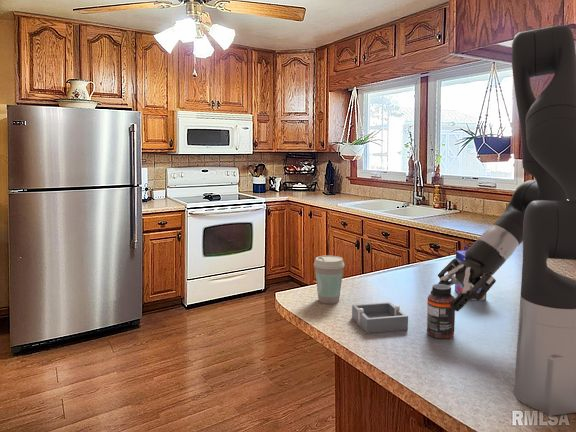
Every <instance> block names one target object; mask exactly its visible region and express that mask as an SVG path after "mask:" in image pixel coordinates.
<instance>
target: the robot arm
mask: <svg viewBox="0 0 576 432" xmlns="http://www.w3.org/2000/svg"><path fill="white" fill-rule="evenodd" d="M575 45H576V44H575V37H574V34H573V31H572V29H571V28H570V26H568V25H564V24H558V25H551V26H544V27H542V28H536V29H535V28H534V29H530V30H526V31H521V32H517V34H515V36H514V37H513V40H512V43H511V53H510V54H511V69H512V78H513V87H514V95H515V101H516V107H517V113H518V119H519V125H520V133H521V134H520V136H521V160H522V161H521V162H522V163H521V165H522V168H523V170H524V171H525V172H526V173H527V174H529V175H531V176H532V177H533V178H534V179H530V180H525V181H524V182H522V183H521V184H520V185H519V186H518V187H516V189H515V191H514V192H513V194H512V196H511V198H510V200H509V202H508V204H507V205H506V207H505V210H504V212H503V213H502V214H501V215H500V216H499V217H498V219H496V220H495V222H494V223H493V224H492V225H491V226H490V227H488V228H487V229H486V230H485V231H483V232H482V233H481V235H480V236H479V237H478V238H477V239H476V241H474V243H472V245H470V247H469V249H467V250H465V251H466V252H465V256H466V259H465V260H464V261H463V262H461V263H460V262H459V261H458V260H457V259H456V257H455V258H453V259H451V261H449V263H447V265H446V266H445V267H443V269H442V270H441V271H440V272H439V273H437V277H438V278H439V282H438V283H437V284H445V285H448V286H450V287H452V286H453V285H455V284H456V285H457V284H460V283H461V284H464V289H463V293H460V294H459V293H458V295H457V296H456V297H454V298H455V299H454V300H453V302H452V303H451V304H450V306H451V307H452V308H453V309H454V310H455V312H460V310H462V309H463V308H464V306H466V304H468V302H469V301H474V300H473V299H476V300H475V301H478V302H479V301H482V300H481V298H482V297H483V296H484V295H485V294H486V293H487V292H488V291H489V290H490V289H491V288H492V287H493V285H494V284H495V283H496V282H497V280H496V279H495V278H494V274H495V273H496V272H497V271H498V270H499V269H500V268H501V267H502V266H503V265H504V264H505V263H506V261H508V259H510V257H511V256H512V255H513V254H514V252H515V251H516V250H517V248H518V247H519V246H520V244H521V243H522V268H521V269H522V270H521V282H520V283H521V284H520V286H521V287H520V297H519V298H520V300H519V313H518V323H517V324H518V327H517V338H516V339H517V340H516V351H515V353H516V355H515V365H514V366H515V369H514V382H513V383H514V385H513V394H514V396H515V398H516V399H517V400H519V401H520V402H521V403H522V404H524V405H526V406H528V407H530V408H531V409H535V410H538V411H540V412H543V413H544V414H546V415H547V416H549V417H550V416H551V417H552V416H560V415H567V414H573V413H576V279H573V278H570V277H567V276H565V275H563V274H560V273H558V272H556V271H554V270H553V269H551V268H550V267H549V266H548V262H547V261H548V259H551V260H552V259H555V260H567V261H569V260H570V261H576V46H575ZM546 75H553V77H552V78H551V81H550V82H549V83H548V85H547V86H546V87H545V88H544V89H543V90H542V92H541V93H540V94H539V95H538V97H535V95H534V92H533V88H532V86H531V78H534V77H540V76H546ZM446 273H447V274H446ZM479 288H480V289H481V291H480V292H479V293H477V291H478V290H479ZM431 293H432V290H431V291H430V294H431ZM486 295H487V294H486Z"/></svg>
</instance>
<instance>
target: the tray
mask: <svg viewBox="0 0 576 432" xmlns="http://www.w3.org/2000/svg"><path fill="white" fill-rule="evenodd" d="M400 307H401V306H400V305H397V304H396V305H395V304H393V303H392V302H391V301H385V302H372V303H371V302H370V303H360V304H359V303H358V304H352V305H351V319H352V320H354V321H355V322H356V324H357V326H358V327H360V328H361V329H362V330H363V331H364V332H365V333H366V334H373V333H374V334H375V333H387V332H396V331H397V332H398V331H408V330H409V316H408V315H407V314H406V313H405V312H404V311H402V310H401V308H400Z"/></svg>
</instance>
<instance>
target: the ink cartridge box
mask: <svg viewBox="0 0 576 432" xmlns="http://www.w3.org/2000/svg"><path fill="white" fill-rule="evenodd" d="M463 247H464V249H465V250H456V251H455V258H456V259H457V260H458V261H459V262H460V263H461V262H463V261H464V260H465V259H466V256H465V252H466V251H467V250H468V249H469V248H470V247H469V246H467V245H465V244H463ZM463 289H464V284H461V283H460V284H457V285H456V284H454V291H455V292H457V293H458V295H459V294H460V293H463ZM480 291H481V289H480V288H479V290H478V291H477V293H479V292H480ZM472 301H477V300H476V299H473V300H472ZM480 301H487V293H486V294H485V295H484V296H483V297H482V298H481V300H480Z"/></svg>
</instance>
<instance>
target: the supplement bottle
mask: <svg viewBox="0 0 576 432" xmlns="http://www.w3.org/2000/svg"><path fill="white" fill-rule="evenodd" d="M431 291H432V293H431V292H430V294H429V295H428V296H427V302H426V333H427V335H429V336H431V337H432V338H435V339H443V340H447V339H450V338H453V337H454V336H455V322H456V321H455V320H456V317H455V316H456V311H455V310H454V309H453V308H452V307H451V306H450V304H451V303H452V302H453V300H454V299H455V298H456V297H455V296H454V295H452V286H448V285H445V284H438V283H436V284H435V283H434V284H433V285H432V288H431Z"/></svg>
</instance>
